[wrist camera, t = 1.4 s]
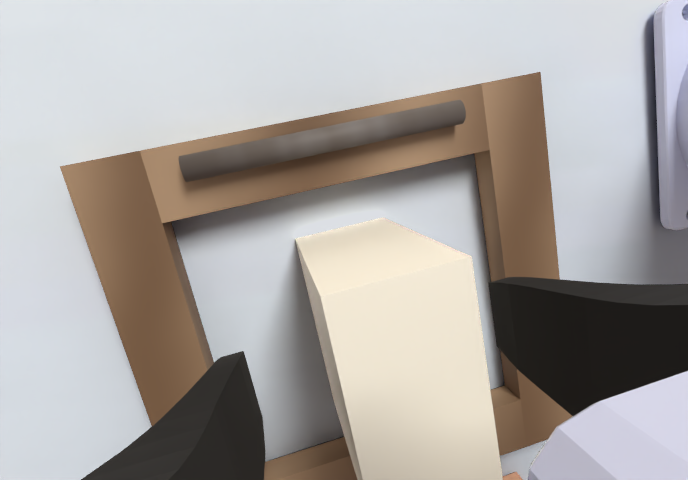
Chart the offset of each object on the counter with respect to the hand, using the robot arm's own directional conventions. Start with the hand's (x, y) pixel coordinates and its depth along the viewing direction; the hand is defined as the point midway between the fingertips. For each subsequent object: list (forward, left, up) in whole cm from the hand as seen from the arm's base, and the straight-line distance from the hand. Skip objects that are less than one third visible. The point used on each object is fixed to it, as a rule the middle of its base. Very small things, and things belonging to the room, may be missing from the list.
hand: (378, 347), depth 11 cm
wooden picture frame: (0, 0, -3) cm, 3 cm away
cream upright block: (0, 0, -3) cm, 3 cm away
